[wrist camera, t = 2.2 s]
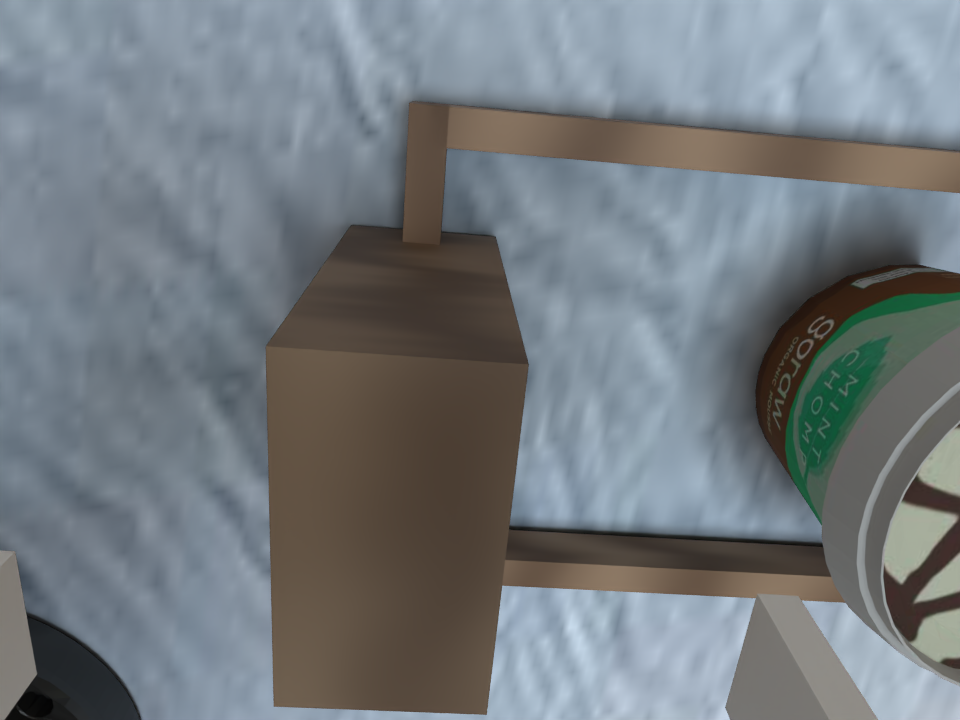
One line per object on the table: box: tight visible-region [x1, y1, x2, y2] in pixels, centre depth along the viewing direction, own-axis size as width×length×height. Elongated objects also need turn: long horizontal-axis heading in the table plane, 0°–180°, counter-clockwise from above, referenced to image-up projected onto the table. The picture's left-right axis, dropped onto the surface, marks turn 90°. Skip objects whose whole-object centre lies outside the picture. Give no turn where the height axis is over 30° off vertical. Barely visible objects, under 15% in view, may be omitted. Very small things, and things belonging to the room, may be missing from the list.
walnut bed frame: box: [266, 101, 960, 715], centre depth 22 cm, size 25×17×12 cm
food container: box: [756, 265, 960, 686], centre depth 23 cm, size 12×6×10 cm, turn 175°
